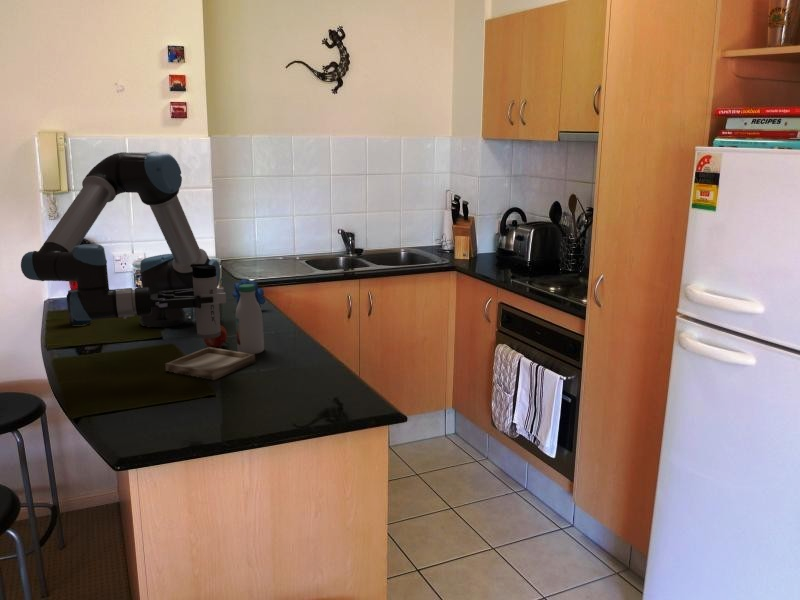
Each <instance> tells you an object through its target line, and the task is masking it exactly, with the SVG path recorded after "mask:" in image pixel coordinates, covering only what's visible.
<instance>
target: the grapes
mask: <svg viewBox="0 0 800 600" xmlns="http://www.w3.org/2000/svg"><path fill="white" fill-rule="evenodd" d="M243 284H253V285H255V297H256V300H257V302H258V304H259V306H260V308H261V309H262V306H261V305H264V304H265V303H266V298H265V297H264V295H265V291H264V289H263V288H261V287H258V283H257V282H256V281H254V280H251V281H250V282H249V280H248V279H246V278H243V279H241V280H240V283H239V282H235V283H234V284H233V288H234V289H235V290H234V291H232V293H231V294H232V297H233V298H234V299H236V306H238V303H239V300H240V293H239V286H240V285H243Z"/></svg>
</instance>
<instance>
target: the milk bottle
mask: <svg viewBox="0 0 800 600" xmlns="http://www.w3.org/2000/svg"><path fill="white" fill-rule="evenodd" d="M239 293H240V300H239V303H238V305H236V309H235V332H236V333H235V334H236V344H237V346H236V347H237V348H236V349H237V352H243V353H249V354H255V355H258V354H260V353H263V352H264V350H265V338H264V323H263V313H262V307H261V308H260V306H259V304H258V302H257V300H256V297H255V285H253V284H243V285H240V286H239Z"/></svg>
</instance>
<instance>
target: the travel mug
mask: <svg viewBox="0 0 800 600" xmlns="http://www.w3.org/2000/svg"><path fill="white" fill-rule="evenodd" d="M190 267H192V273H193V288H194V296H200V295H202V294H215V293H218V288H219V286H218V287H217V278H216V277H217V275H216V267H215V266H213V265H209V264H191V265H190ZM200 297H201V296H200ZM194 312H195V322H196V323H195V324H196V335H197V337H198V338H199V339H203V340H204V339H210V338H216V337H219V336H220V335H221V330H220V325H221V317H220V304H209V305H201V308H198V307H197V308H196V307H195V308H194Z"/></svg>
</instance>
